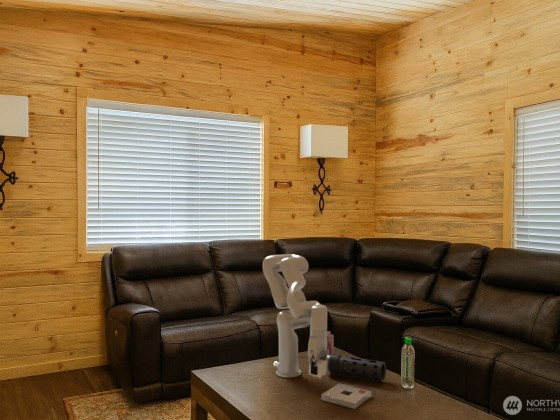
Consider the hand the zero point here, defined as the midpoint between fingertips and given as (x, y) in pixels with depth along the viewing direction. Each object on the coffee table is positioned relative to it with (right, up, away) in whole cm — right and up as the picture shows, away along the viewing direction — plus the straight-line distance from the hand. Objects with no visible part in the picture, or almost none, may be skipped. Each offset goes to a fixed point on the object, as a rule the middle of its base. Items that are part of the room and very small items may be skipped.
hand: (317, 371), depth 226 cm
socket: (+12, -9, -9) cm, 17 cm away
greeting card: (+6, -8, +42) cm, 43 cm away
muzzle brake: (+19, -9, +16) cm, 26 cm away
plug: (0, -3, 0) cm, 3 cm away
